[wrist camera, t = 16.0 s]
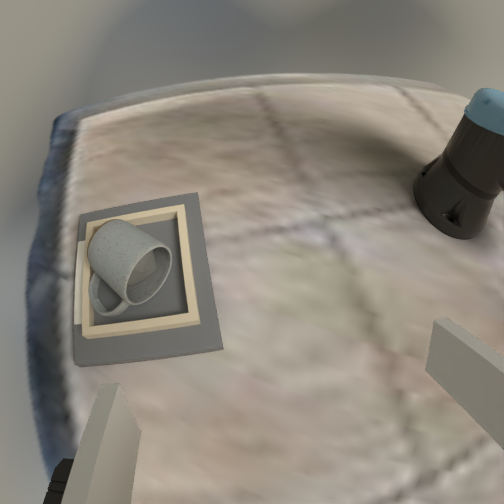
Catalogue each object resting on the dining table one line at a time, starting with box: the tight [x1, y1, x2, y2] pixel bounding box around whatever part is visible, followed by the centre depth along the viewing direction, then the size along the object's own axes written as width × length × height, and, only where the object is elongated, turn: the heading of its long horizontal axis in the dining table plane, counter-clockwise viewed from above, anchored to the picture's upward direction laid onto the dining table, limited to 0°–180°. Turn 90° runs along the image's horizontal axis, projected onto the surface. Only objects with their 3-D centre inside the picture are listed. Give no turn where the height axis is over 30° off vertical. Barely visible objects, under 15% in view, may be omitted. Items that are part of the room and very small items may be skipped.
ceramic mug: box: [87, 219, 172, 316], centre depth 33 cm, size 11×8×8 cm
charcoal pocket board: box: [74, 192, 223, 367], centre depth 38 cm, size 18×22×3 cm
